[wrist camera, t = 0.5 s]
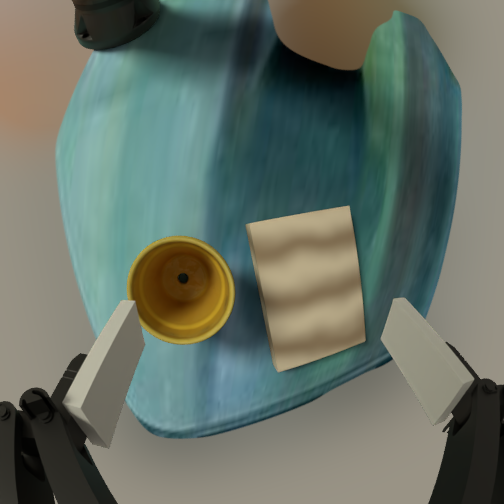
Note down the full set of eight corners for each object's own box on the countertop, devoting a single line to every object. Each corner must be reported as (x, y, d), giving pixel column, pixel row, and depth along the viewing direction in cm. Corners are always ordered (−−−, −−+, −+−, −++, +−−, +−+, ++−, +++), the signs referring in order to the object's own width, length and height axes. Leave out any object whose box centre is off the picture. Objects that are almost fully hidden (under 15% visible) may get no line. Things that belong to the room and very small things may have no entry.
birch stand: (245, 224, 35) (249, 223, 33) (340, 207, 38) (349, 205, 35) (273, 364, 37) (278, 372, 34) (356, 335, 39) (365, 340, 37)
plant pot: (138, 307, 33) (119, 332, 23) (153, 228, 33) (137, 224, 23) (215, 324, 35) (223, 354, 25) (232, 246, 35) (247, 250, 25)
